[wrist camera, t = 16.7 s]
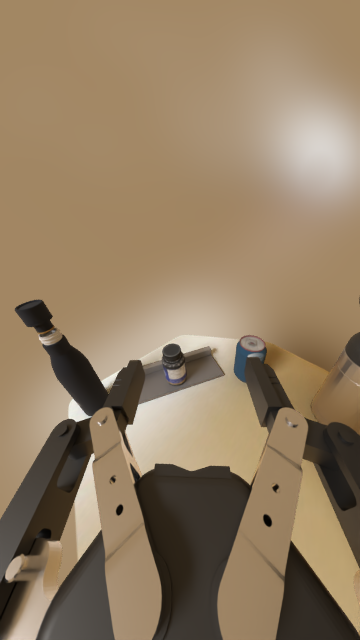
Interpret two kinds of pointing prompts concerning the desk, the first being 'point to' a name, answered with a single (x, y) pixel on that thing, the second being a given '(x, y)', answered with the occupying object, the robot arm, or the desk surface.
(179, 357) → the pill bottle
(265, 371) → the robot arm
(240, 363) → the soda can
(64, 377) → the black water bottle
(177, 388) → the price rail shelf
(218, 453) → the desk surface
